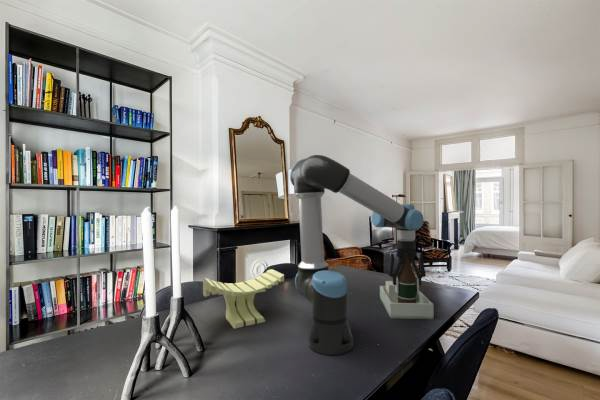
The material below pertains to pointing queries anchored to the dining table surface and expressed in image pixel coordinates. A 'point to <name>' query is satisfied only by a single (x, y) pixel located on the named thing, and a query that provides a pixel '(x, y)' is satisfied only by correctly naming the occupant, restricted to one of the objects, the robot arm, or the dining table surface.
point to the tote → (408, 307)
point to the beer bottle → (406, 282)
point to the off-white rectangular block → (391, 292)
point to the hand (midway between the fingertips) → (407, 292)
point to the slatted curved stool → (242, 297)
